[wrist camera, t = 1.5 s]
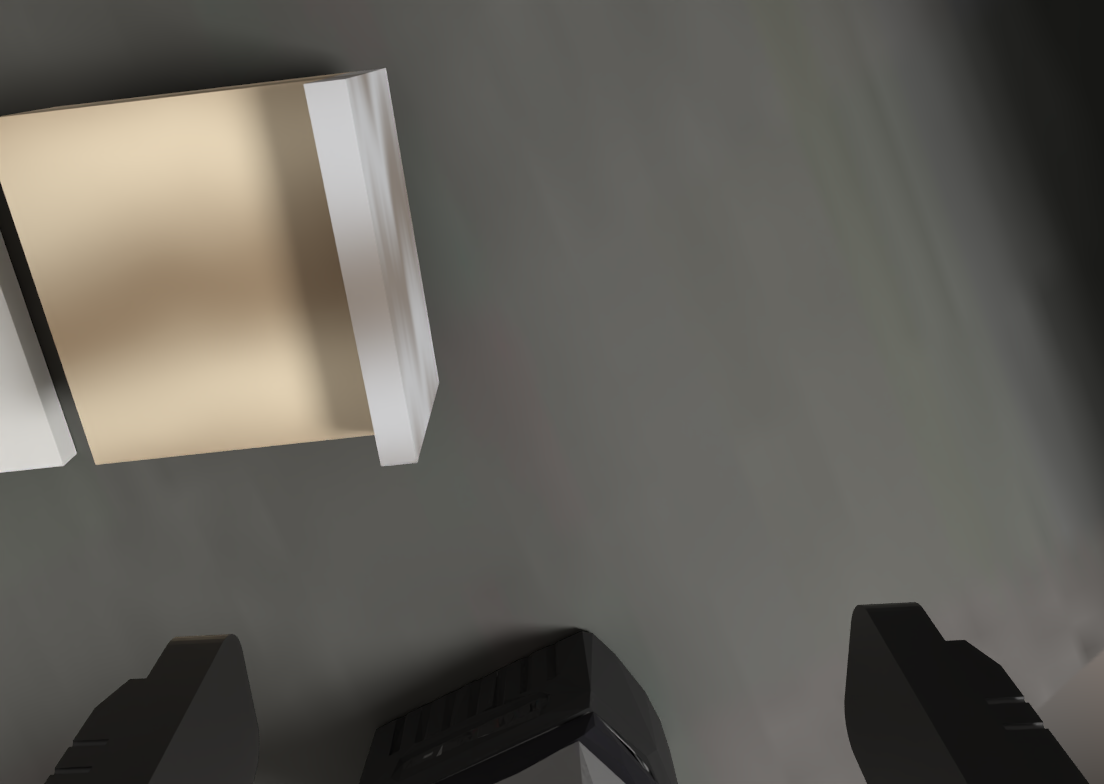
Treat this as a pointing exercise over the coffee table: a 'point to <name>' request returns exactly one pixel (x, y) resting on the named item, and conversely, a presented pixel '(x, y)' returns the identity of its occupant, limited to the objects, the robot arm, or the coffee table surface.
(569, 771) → the cordless drill
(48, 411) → the dock
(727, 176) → the coffee table surface
